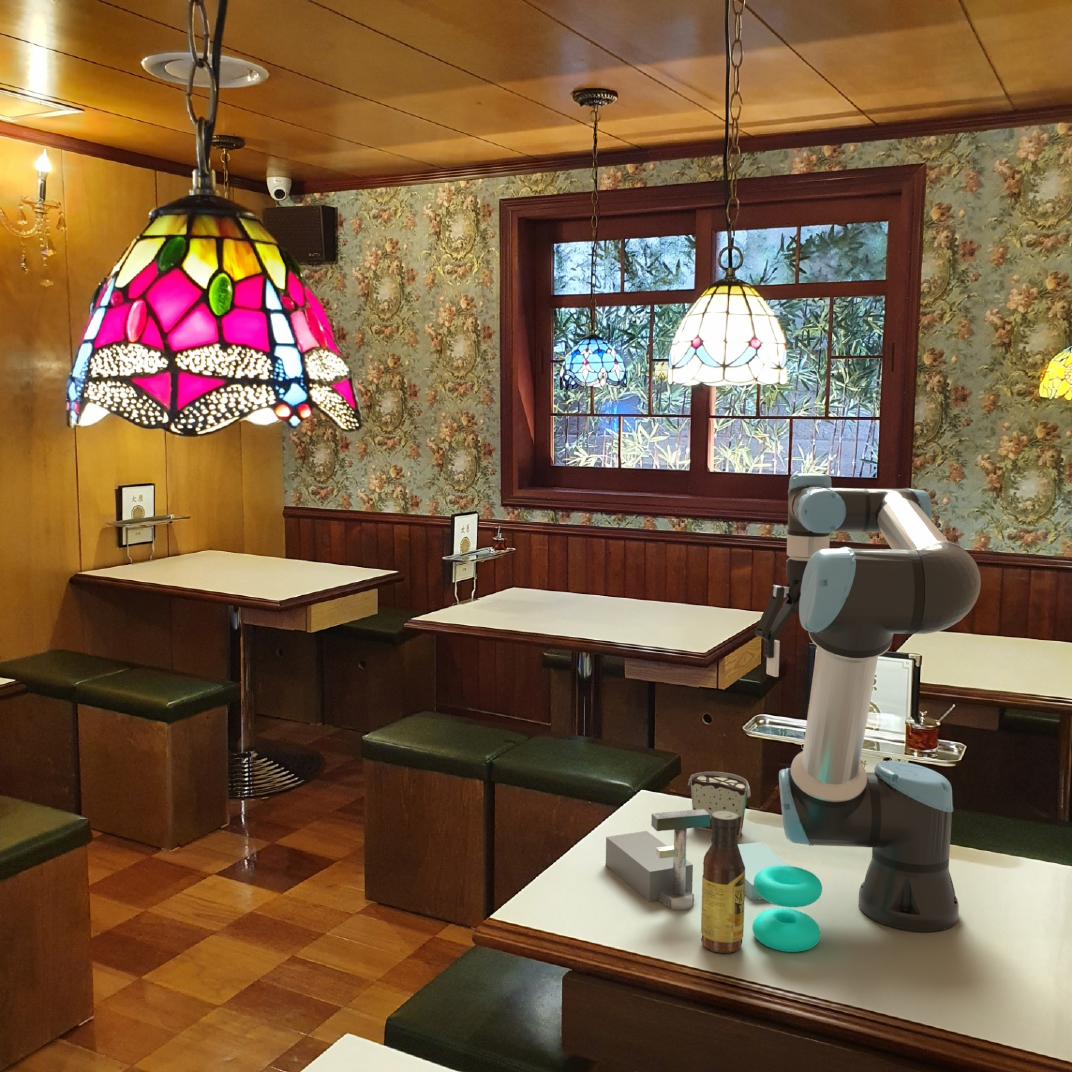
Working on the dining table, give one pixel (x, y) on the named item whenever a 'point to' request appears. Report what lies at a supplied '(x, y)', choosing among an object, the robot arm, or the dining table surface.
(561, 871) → the dining table surface
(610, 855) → the case
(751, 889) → the cover
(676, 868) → the key
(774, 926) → the donuts
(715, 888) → the sauce bottle
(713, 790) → the food container
